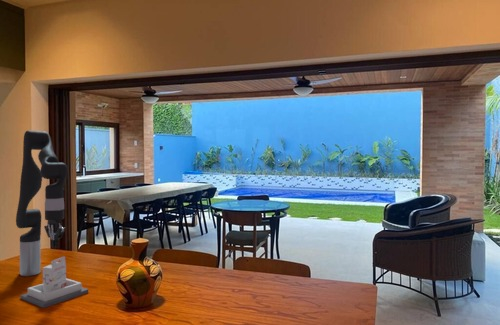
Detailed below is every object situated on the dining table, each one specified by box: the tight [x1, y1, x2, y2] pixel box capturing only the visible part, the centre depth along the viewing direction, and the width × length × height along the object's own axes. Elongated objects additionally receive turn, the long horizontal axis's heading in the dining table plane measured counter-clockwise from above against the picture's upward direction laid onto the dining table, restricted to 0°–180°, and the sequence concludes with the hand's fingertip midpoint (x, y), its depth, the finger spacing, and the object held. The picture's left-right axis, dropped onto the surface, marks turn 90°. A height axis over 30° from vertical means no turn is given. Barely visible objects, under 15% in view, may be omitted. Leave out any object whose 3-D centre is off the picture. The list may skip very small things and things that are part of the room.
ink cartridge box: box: [42, 256, 67, 293], centre depth 163 cm, size 9×5×15 cm, turn 166°
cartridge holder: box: [20, 277, 89, 309], centre depth 163 cm, size 18×20×4 cm
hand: (54, 247), depth 163 cm, fingers closed
